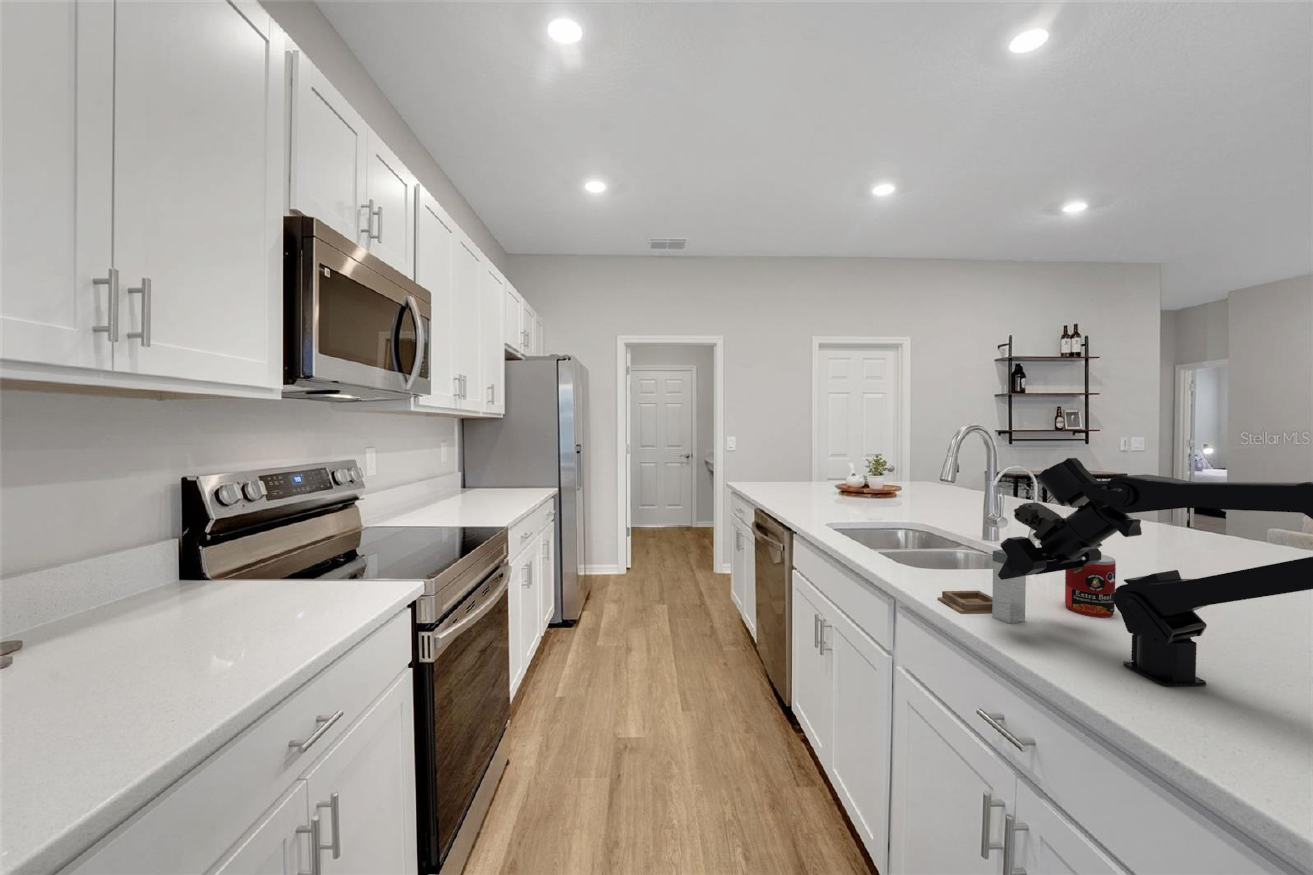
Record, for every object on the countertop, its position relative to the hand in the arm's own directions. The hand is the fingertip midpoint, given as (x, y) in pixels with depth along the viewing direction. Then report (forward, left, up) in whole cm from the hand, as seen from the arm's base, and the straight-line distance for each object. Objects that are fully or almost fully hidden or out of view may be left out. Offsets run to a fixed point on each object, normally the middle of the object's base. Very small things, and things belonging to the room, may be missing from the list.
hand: (1017, 574), depth 97 cm
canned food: (+5, -19, -9) cm, 22 cm away
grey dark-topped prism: (+2, 0, -9) cm, 9 cm away
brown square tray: (+9, +3, -9) cm, 13 cm away
